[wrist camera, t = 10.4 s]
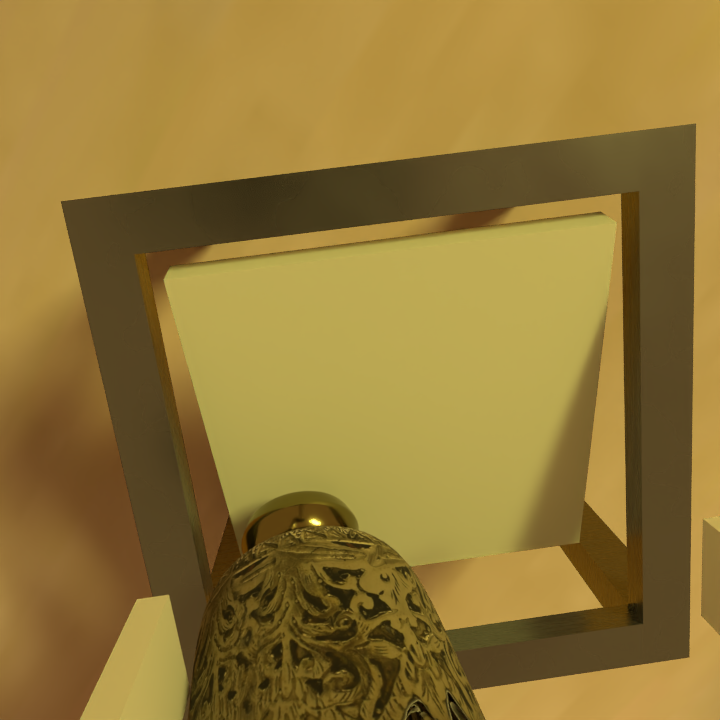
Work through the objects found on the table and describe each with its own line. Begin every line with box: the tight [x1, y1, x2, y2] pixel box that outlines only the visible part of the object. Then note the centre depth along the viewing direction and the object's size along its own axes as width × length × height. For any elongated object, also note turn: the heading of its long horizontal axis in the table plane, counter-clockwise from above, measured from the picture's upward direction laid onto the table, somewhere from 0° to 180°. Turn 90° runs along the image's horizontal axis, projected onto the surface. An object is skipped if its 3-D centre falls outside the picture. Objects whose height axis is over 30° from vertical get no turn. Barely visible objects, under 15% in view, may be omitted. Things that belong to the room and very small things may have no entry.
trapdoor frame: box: [61, 124, 696, 720], centre depth 24 cm, size 16×16×14 cm
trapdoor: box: [163, 212, 617, 567], centre depth 20 cm, size 12×12×1 cm
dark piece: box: [188, 491, 485, 720], centre depth 17 cm, size 8×7×8 cm
